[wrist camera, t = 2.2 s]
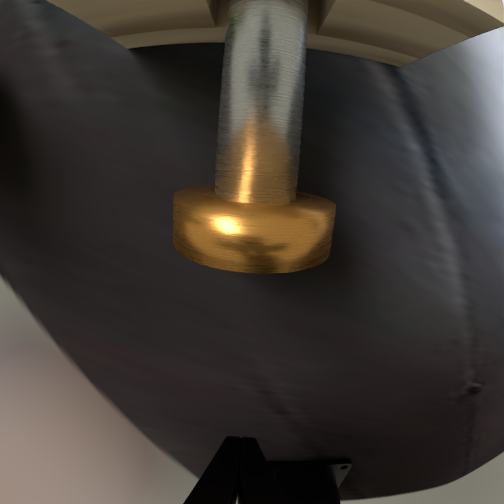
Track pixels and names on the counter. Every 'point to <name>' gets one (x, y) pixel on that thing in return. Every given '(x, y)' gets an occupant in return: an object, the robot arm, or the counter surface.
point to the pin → (258, 153)
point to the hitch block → (318, 25)
